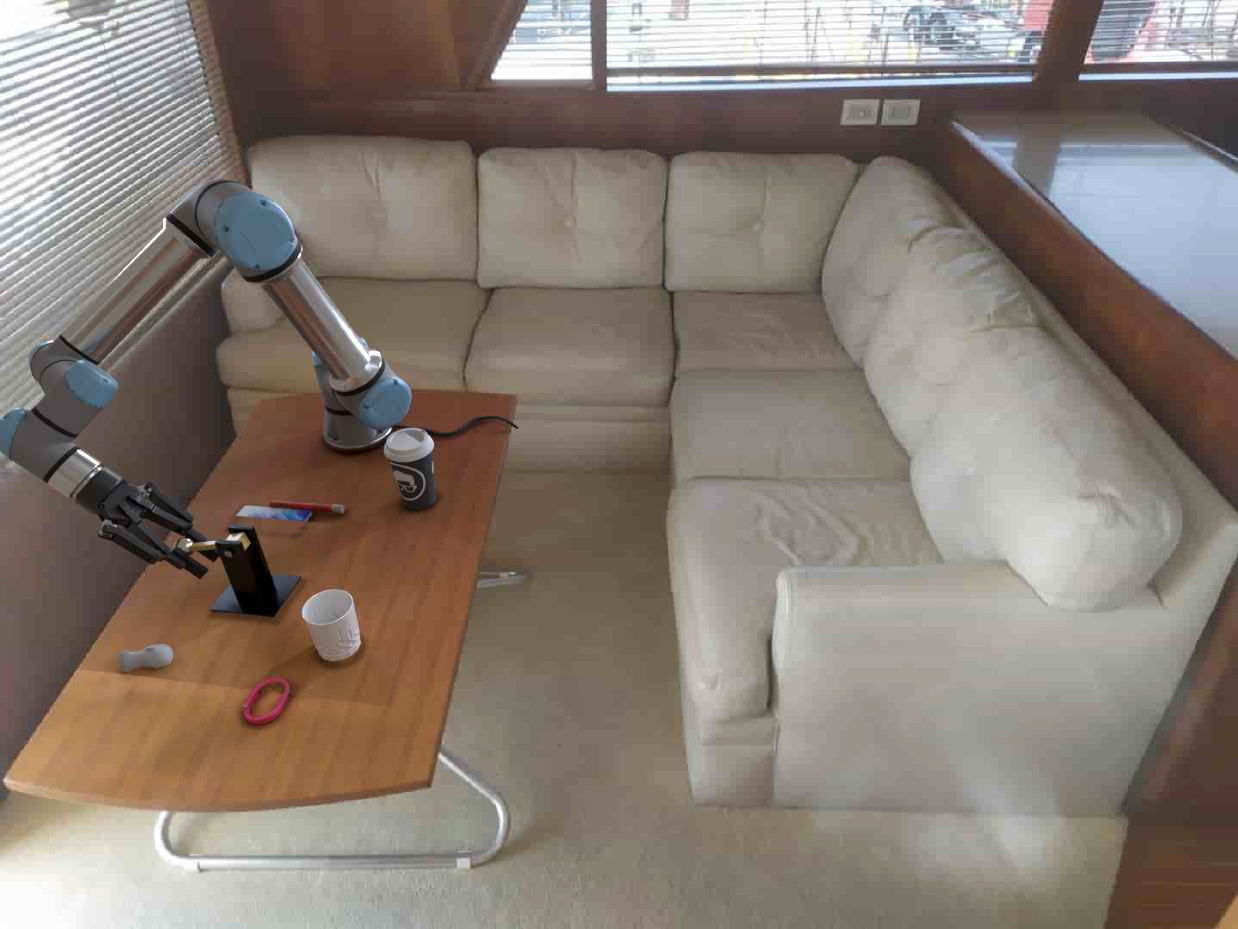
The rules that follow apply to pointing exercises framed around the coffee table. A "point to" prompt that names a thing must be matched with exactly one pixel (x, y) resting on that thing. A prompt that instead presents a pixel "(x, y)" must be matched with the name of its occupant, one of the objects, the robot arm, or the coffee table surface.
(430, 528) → the coffee table surface
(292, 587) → the bracket
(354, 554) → the coffee table surface
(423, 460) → the coffee cup
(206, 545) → the silver ball pendulum
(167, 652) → the smooth white sculpture
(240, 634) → the coffee table surface
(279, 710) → the fitness band
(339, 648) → the white cup
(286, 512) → the smartphone
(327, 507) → the red road flare
